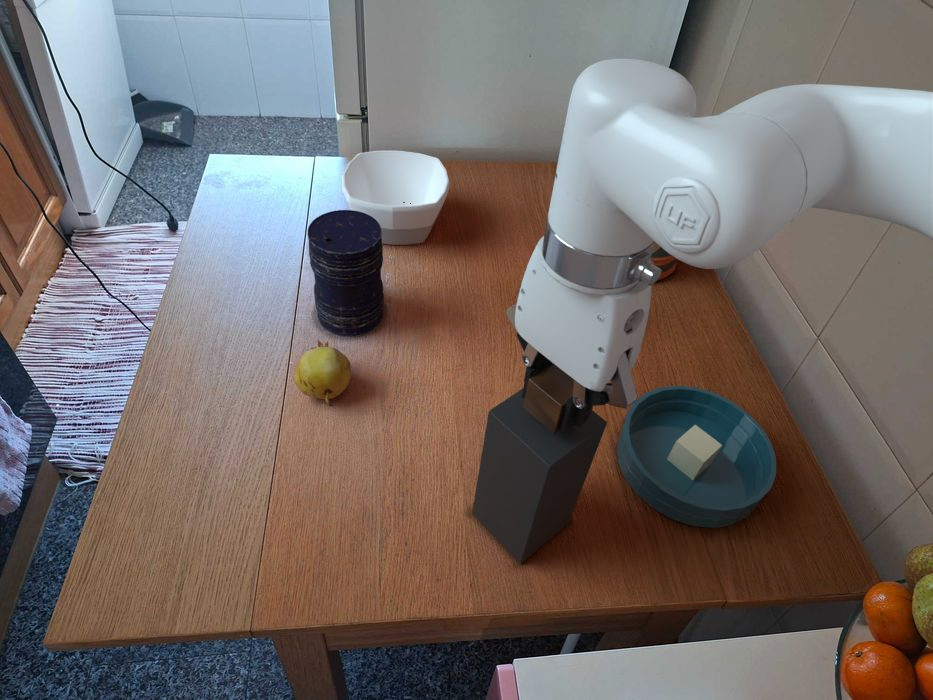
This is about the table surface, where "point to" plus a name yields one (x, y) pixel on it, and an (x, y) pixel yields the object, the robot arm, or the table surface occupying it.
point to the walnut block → (548, 396)
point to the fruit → (322, 372)
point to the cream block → (694, 452)
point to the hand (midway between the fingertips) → (553, 406)
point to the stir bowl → (722, 483)
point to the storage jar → (347, 271)
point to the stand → (531, 476)
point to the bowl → (397, 192)
